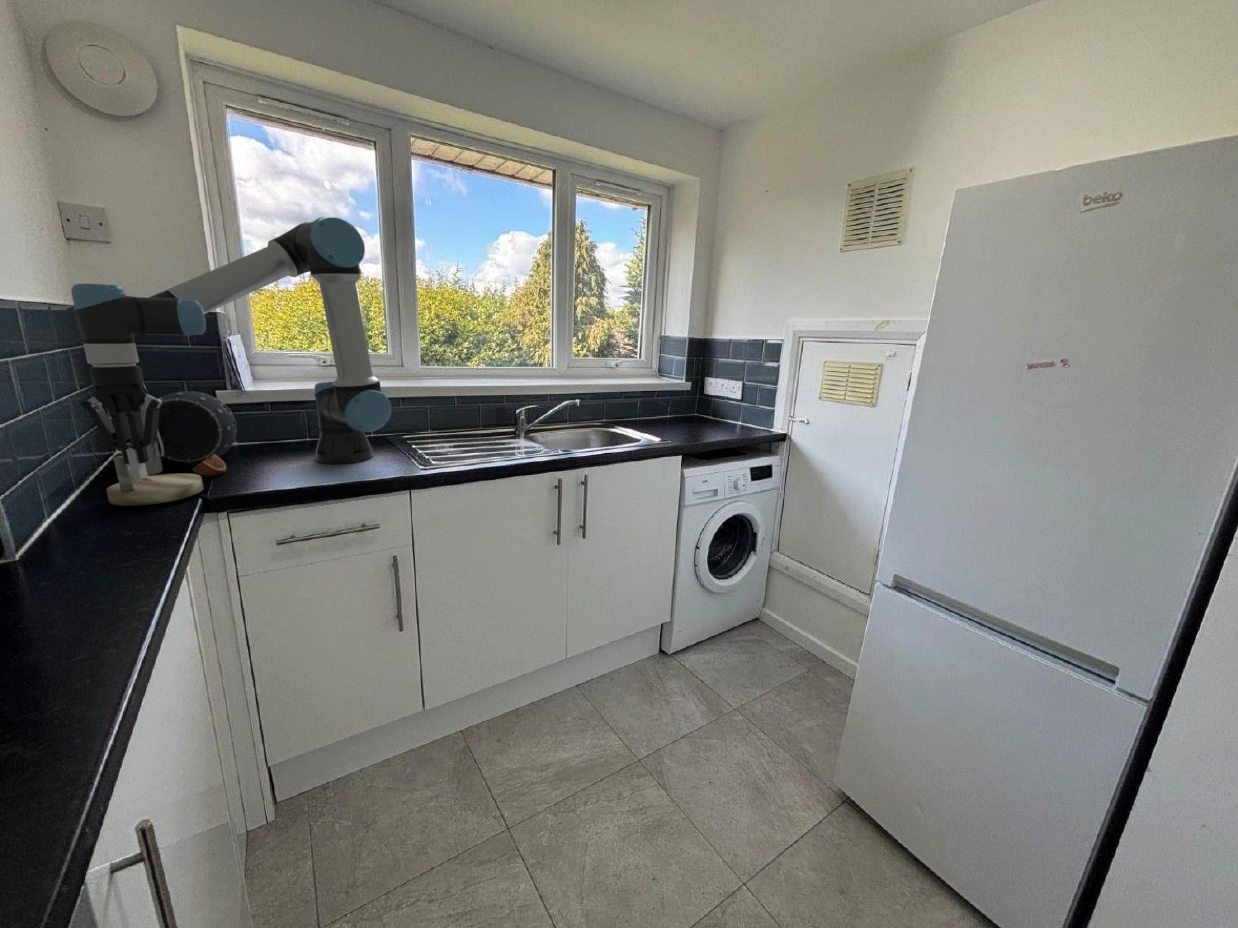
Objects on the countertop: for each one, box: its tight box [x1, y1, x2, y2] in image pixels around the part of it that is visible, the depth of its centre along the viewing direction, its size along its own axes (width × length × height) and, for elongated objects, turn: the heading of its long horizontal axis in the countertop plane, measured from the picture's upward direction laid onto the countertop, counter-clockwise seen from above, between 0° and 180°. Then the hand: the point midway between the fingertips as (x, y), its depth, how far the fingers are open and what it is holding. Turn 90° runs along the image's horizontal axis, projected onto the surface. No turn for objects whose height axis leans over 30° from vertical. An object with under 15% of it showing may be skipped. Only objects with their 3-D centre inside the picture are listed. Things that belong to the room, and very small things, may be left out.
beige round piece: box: [106, 455, 204, 507], centre depth 115 cm, size 16×19×10 cm
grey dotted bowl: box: [157, 391, 238, 465], centre depth 143 cm, size 11×20×20 cm, turn 107°
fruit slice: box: [192, 454, 228, 477], centre depth 133 cm, size 8×7×5 cm
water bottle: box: [120, 384, 165, 476], centre depth 130 cm, size 9×8×25 cm
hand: (140, 477), depth 109 cm, fingers closed
